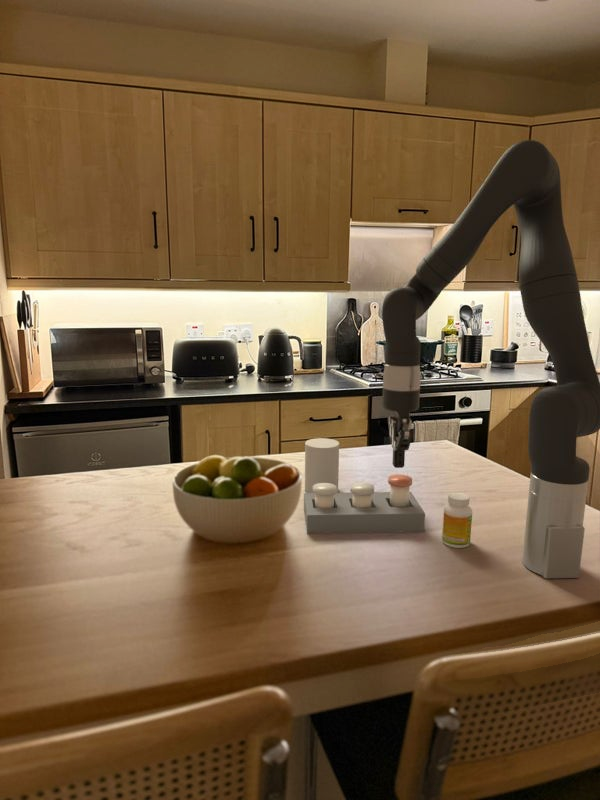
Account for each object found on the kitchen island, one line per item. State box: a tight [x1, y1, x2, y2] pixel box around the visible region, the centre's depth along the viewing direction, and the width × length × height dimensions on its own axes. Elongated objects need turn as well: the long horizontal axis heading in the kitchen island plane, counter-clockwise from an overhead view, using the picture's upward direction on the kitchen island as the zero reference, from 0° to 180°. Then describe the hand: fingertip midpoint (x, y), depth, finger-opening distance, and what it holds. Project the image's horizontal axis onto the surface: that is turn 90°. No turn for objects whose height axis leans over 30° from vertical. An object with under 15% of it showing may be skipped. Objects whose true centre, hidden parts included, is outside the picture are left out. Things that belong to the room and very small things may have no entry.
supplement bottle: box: [441, 492, 473, 549], centre depth 112 cm, size 5×5×10 cm
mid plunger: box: [349, 481, 375, 508], centre depth 122 cm, size 5×5×7 cm
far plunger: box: [313, 483, 337, 508], centre depth 121 cm, size 5×5×7 cm
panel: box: [303, 491, 426, 535], centre depth 122 cm, size 12×24×4 cm, turn 93°
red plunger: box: [387, 474, 413, 507], centre depth 122 cm, size 5×5×7 cm
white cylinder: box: [304, 437, 340, 493], centre depth 139 cm, size 8×8×12 cm
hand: (398, 466), depth 121 cm, fingers closed
